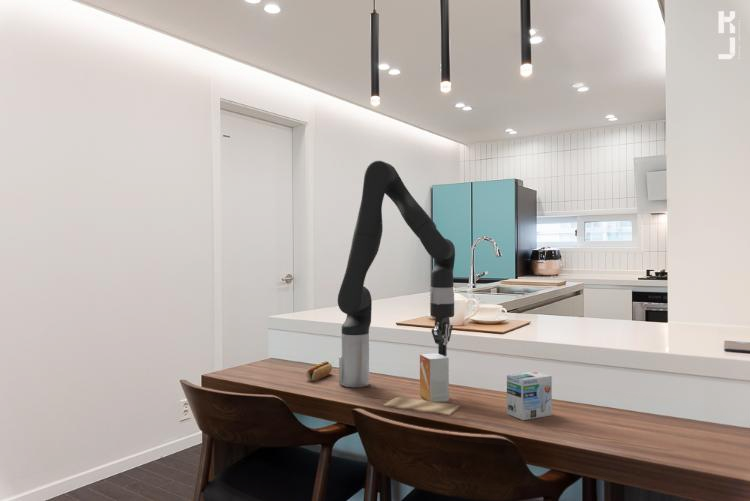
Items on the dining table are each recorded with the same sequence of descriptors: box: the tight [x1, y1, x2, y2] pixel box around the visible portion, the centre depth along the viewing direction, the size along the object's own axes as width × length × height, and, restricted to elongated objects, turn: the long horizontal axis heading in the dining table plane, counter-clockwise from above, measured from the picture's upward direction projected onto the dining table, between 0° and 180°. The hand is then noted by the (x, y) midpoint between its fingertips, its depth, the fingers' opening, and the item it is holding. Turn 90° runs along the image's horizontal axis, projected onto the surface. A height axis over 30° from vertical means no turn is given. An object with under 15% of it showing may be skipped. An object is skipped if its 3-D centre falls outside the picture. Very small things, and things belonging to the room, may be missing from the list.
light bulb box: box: [506, 371, 553, 421], centre depth 145 cm, size 11×7×11 cm, turn 117°
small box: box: [419, 352, 450, 403], centre depth 161 cm, size 8×6×13 cm
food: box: [305, 361, 333, 382], centre depth 189 cm, size 14×6×5 cm, turn 160°
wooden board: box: [383, 396, 461, 416], centre depth 153 cm, size 20×9×1 cm, turn 62°
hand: (442, 356), depth 167 cm, fingers closed
